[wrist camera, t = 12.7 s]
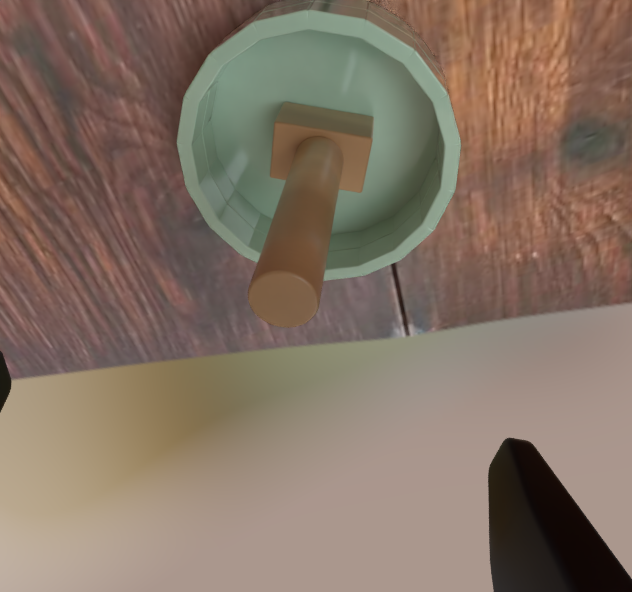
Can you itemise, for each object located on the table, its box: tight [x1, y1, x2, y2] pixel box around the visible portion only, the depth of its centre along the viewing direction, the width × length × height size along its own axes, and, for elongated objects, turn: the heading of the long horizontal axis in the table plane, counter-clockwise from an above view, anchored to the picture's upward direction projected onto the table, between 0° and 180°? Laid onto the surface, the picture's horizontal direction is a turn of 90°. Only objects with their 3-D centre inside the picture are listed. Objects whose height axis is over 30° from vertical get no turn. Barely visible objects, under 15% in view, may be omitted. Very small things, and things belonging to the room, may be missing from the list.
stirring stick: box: [248, 102, 374, 327], centre depth 16 cm, size 2×3×10 cm, turn 82°
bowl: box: [177, 0, 461, 281], centre depth 19 cm, size 9×9×3 cm
